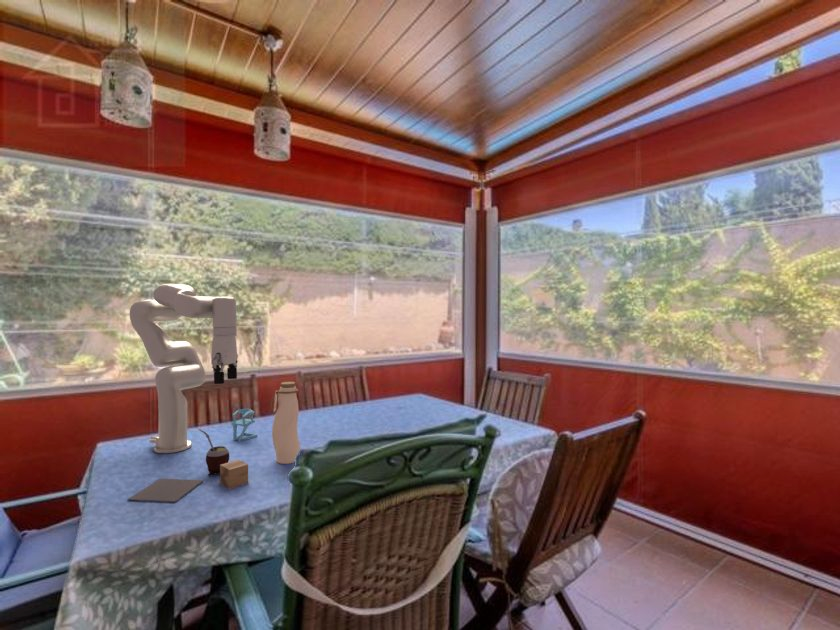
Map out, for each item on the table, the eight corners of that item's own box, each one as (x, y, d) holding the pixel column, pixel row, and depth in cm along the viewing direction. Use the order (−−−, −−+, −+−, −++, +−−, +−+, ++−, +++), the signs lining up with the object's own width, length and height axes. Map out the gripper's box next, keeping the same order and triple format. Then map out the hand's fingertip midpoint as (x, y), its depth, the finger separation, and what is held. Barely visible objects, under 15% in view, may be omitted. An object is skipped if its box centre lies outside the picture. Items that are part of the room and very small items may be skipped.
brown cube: (219, 483, 133) (219, 464, 133) (238, 477, 138) (238, 459, 137) (229, 489, 129) (229, 469, 129) (248, 483, 134) (248, 464, 133)
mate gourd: (233, 471, 142) (233, 427, 142) (211, 479, 135) (211, 433, 135) (220, 466, 146) (220, 423, 146) (198, 474, 139) (198, 429, 139)
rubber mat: (127, 500, 120) (127, 499, 120) (160, 480, 134) (160, 478, 134) (175, 502, 120) (175, 501, 120) (203, 481, 134) (203, 480, 134)
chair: (228, 440, 173) (228, 411, 173) (242, 434, 181) (242, 406, 181) (243, 442, 171) (243, 413, 170) (257, 436, 179) (257, 408, 178)
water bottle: (272, 467, 146) (273, 386, 145) (268, 458, 154) (269, 381, 153) (302, 462, 151) (303, 384, 150) (297, 454, 159) (298, 380, 158)
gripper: (225, 331, 156) (226, 377, 157) (201, 333, 139) (202, 385, 139) (245, 330, 156) (246, 377, 156) (223, 333, 139) (225, 385, 139)
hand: (225, 381), depth 148 cm, fingers open, 9 cm apart
